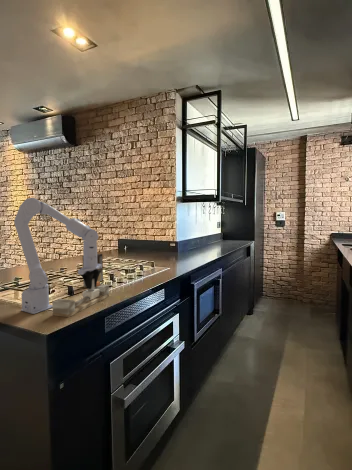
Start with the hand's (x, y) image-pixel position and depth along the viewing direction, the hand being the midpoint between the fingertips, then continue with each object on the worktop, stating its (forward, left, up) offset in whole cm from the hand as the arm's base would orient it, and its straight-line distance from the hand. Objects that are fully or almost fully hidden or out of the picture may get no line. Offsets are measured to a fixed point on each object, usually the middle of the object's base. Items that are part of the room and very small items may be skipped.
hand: (91, 287), depth 128 cm
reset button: (+6, +3, -2) cm, 7 cm away
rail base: (-5, -1, -6) cm, 8 cm away
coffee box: (+21, +19, -6) cm, 29 cm away
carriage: (0, 0, -4) cm, 4 cm away
